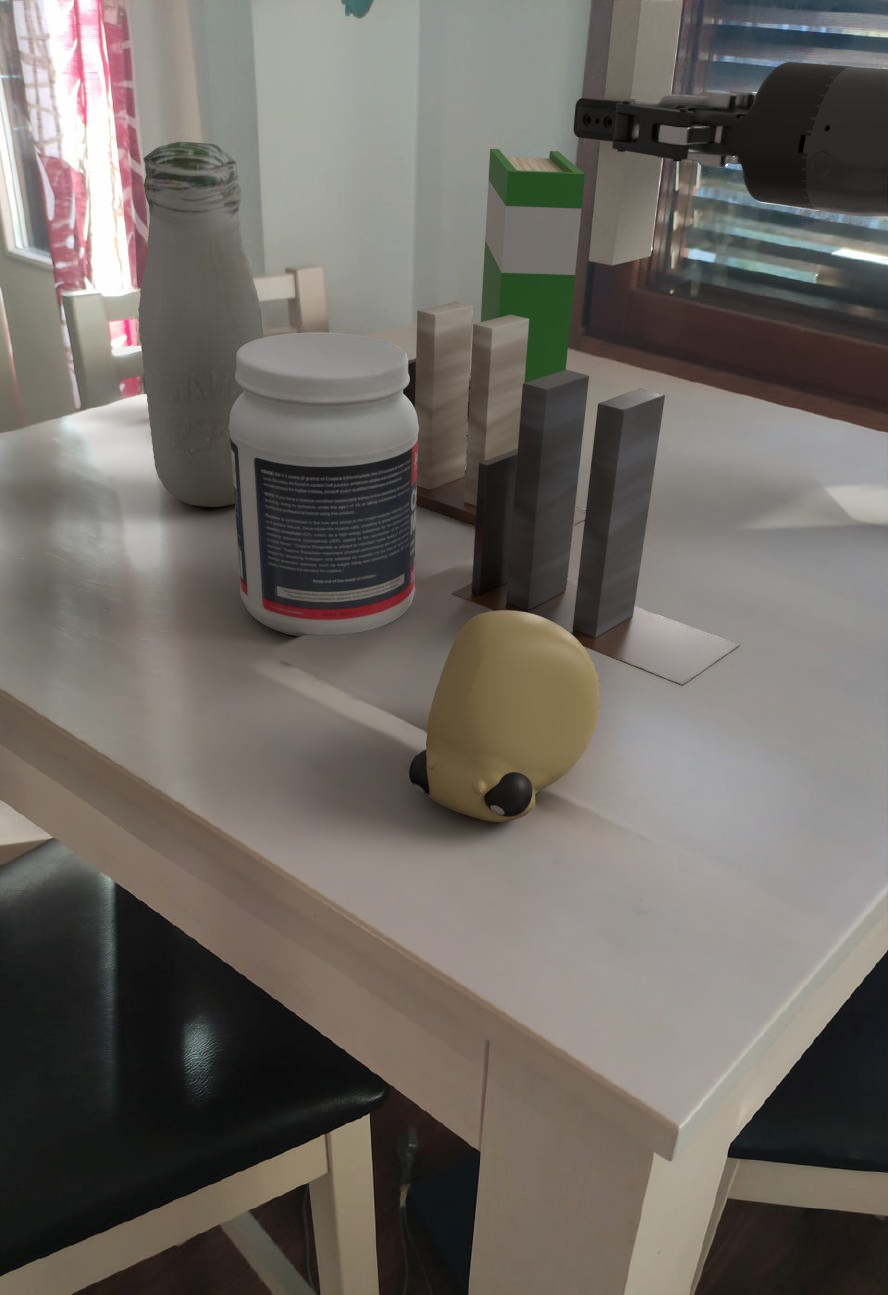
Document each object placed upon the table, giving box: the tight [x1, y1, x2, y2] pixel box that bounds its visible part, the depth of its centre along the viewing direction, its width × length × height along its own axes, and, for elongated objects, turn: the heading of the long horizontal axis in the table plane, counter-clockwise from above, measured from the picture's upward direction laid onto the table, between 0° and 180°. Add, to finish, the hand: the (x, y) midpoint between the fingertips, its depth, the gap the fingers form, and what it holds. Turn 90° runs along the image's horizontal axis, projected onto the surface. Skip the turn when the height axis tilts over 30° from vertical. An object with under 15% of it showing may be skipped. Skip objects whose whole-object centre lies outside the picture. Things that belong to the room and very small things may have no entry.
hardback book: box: [480, 148, 586, 383], centre depth 125 cm, size 18×7×24 cm, turn 4°
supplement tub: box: [229, 331, 419, 638], centre depth 81 cm, size 13×13×18 cm
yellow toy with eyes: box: [408, 610, 601, 823], centre depth 66 cm, size 10×12×11 cm
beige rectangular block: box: [588, 0, 684, 266], centre depth 77 cm, size 2×5×15 cm, turn 140°
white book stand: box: [403, 301, 586, 527], centre depth 100 cm, size 20×8×16 cm, turn 50°
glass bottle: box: [138, 141, 264, 508], centre depth 95 cm, size 10×10×28 cm
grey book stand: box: [451, 369, 741, 687], centre depth 80 cm, size 20×8×17 cm, turn 50°
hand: (602, 115), depth 77 cm, fingers closed on beige rectangular block, 5 cm apart
